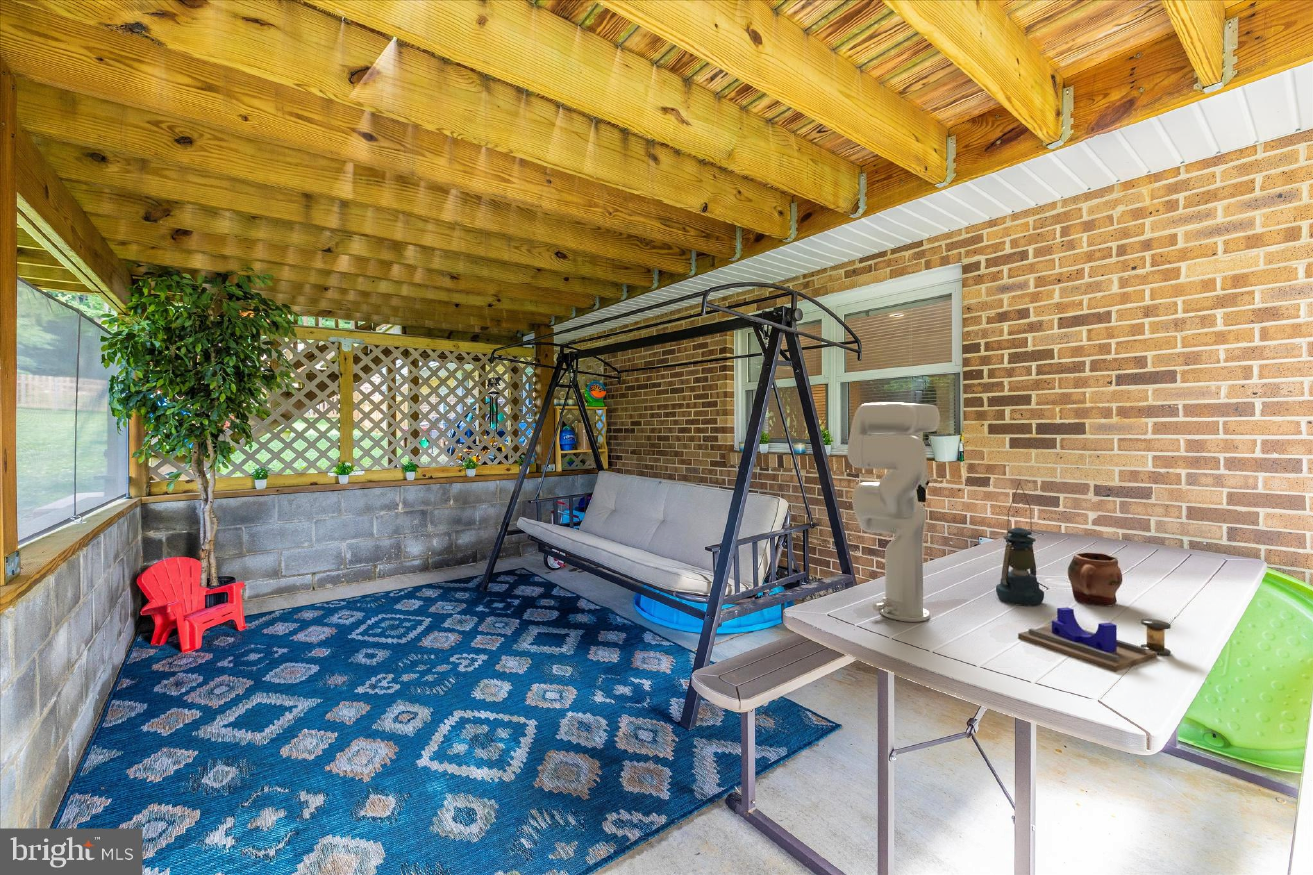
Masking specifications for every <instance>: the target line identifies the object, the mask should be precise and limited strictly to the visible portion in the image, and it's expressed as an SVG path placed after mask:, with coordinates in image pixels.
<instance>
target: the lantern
mask: <svg viewBox="0 0 1313 875" xmlns="http://www.w3.org/2000/svg"><path fill="white" fill-rule="evenodd" d="M1017 484H1018V485H1017V487H1016V489H1015V492H1014V495H1013V497H1012V500H1011V503H1010V506H1009V507H1008V511H1007V527H1006V528H1007V529H1006V535H1004V536H1003V539H1004V540H1005V543H1006V544H1005V549H1004V555H1003V563H1002V568H1001V578H1000V581H999V583H998V584H997V585H996V586H995V591H996V595H997V597H998V599H999V600H1001V601H1002V602H1005V603H1007V604H1010V605H1016V606H1025V607H1038V606H1040V605H1042V603H1043V601H1044V599H1045V591H1044V590H1043V589H1041V588H1040V582H1038V578H1037V564H1036V558H1035V553H1034V548H1033V547H1034V546H1033V545H1034V542H1036V540H1037V539H1036V538H1035V537H1032V536H1033V534H1032V533H1033V530H1032V529H1033V528H1032V527H1033V526H1032V508H1031V504H1030V503H1029V500H1028V498H1027V495H1026V494H1025V493H1026V492H1025V490H1024V488H1023V485H1022V484H1021V482H1018V483H1017ZM1019 486H1020V488H1021V490H1022V492H1023V494H1024V497H1025V499H1026V502H1027V503H1028V508H1029V514H1030V515H1029V516H1030V518H1029V519H1030V530H1028V529H1026V528H1024V527H1013V528H1009V520H1010V519H1009V518H1010V511H1011V507H1012V505H1013V502H1014V499H1015V496H1016V494H1017V492H1018V489H1019ZM1010 568H1011V570H1010ZM1009 570H1010V571H1009Z"/></svg>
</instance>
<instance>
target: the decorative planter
mask: <svg viewBox="0 0 1313 875" xmlns="http://www.w3.org/2000/svg"><path fill="white" fill-rule="evenodd" d="M1121 570H1122V569H1121V568H1120V566H1119V560H1118V558H1117V556H1112V555H1109V554H1106V553H1102V552H1101V553H1100V552H1079V553H1075V554H1074V556H1073V558H1072V559H1071V562H1070V563H1069V565H1068V568H1067V577H1068V579H1069V582H1070V585H1071V589H1072V590H1071V591H1072V596H1073V598H1074V600H1075V601H1076V602H1077V603H1081V604H1086V605H1091V606H1098V607H1113V606H1115V605H1116V604H1117V602H1118V601H1117V596H1116V594H1117V592H1118V590H1119V589H1120V587H1121V586H1122V584H1123V574H1122V571H1121Z"/></svg>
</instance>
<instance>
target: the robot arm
mask: <svg viewBox="0 0 1313 875" xmlns="http://www.w3.org/2000/svg"><path fill="white" fill-rule="evenodd" d="M940 416H941V415H940V410H939V409H938V407H937V406H936V405H935V404H920V403H909V402H900V401H899V402H898V401H896V402H869V403H862V404H861V405H860V406H858V408H857V409H856V411H855V413H854V415H853V418H852V422H851V428H850V432H849V438H848V442H847V449H846V452H847V453H846V454H847V460H848V462H849V463H850V465H851V466H853V467H854V468H858V469H868V470H869V469H870V470H874V469H875V470H889V471H888V472H887V473H885V474H884V475H883V476H882V477H881V478H880V479H879V482H878V481H877V482H874V481H873V482H872V481H871V482H870V481H869V482H868V481H867V482H864V481H863V482H860V483H858V484H856V486H855V487H854V490H853V491H852V498H851V501H852V509H853V513H854V516H855V518H856V520H857V524H858V526H859V527H860V529H861V530H863V531H864V532H868V533H874V534H875V533H877V534H889V535H893V536H894V537H893V539H891V541H889V542H888V544H887V545H886V547H885V551H884V565H885V566H884V573H885V574H884V575H885V576H884V580H885V581H884V584H885V591H884V592H885V593H884V594H885V595H884V597H882V601H880V602H878V603H877V602H876V603H873V605H872V609H873V610H874V611H875V612H879V613H880V614H881V615H883V616H884V617H887V618H888V619H892V620H896V621H901V622H911V623H919V622H925V621H927V620H929V619H930V614H931V613H930V611H929V610H927V609H926V608H924V537H925V531H926V525H927V524H926V523H927V510H926V507H925V506H924V505H923V503H926V502H927V490H928V487H929V484H930V480H931V477H932V474H930V473H929V472H928V466H927V465H928V464H927V455H928V454H927V447H926V445H925V443H924V441H923V439H924V438H923V437H924V436H923V435H924V434H923V433H929V432H930V433H931V432H935V431H937V429H938V427H939V426H940V422H941V421H940V420H941V417H940ZM921 503H922V504H921Z"/></svg>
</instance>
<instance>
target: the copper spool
mask: <svg viewBox="0 0 1313 875" xmlns="http://www.w3.org/2000/svg"><path fill="white" fill-rule="evenodd" d="M1140 624H1142V625H1143V626H1145V627H1146V643H1143V644H1140V647H1143V648H1146V649H1147V650H1150V651H1154V652H1157V656H1162V657H1169V656H1171V655H1172V654H1171V653H1172V652H1171V650H1170V649H1168V648H1166V647H1165V644H1166V643H1165V640H1166V639H1165V636H1166V635H1165V630H1170V629H1171V628H1172V627H1171V626H1172V625H1171V624H1170V623H1169V622H1166V621H1164V620H1161V619H1154V618H1141V619H1140Z"/></svg>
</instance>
